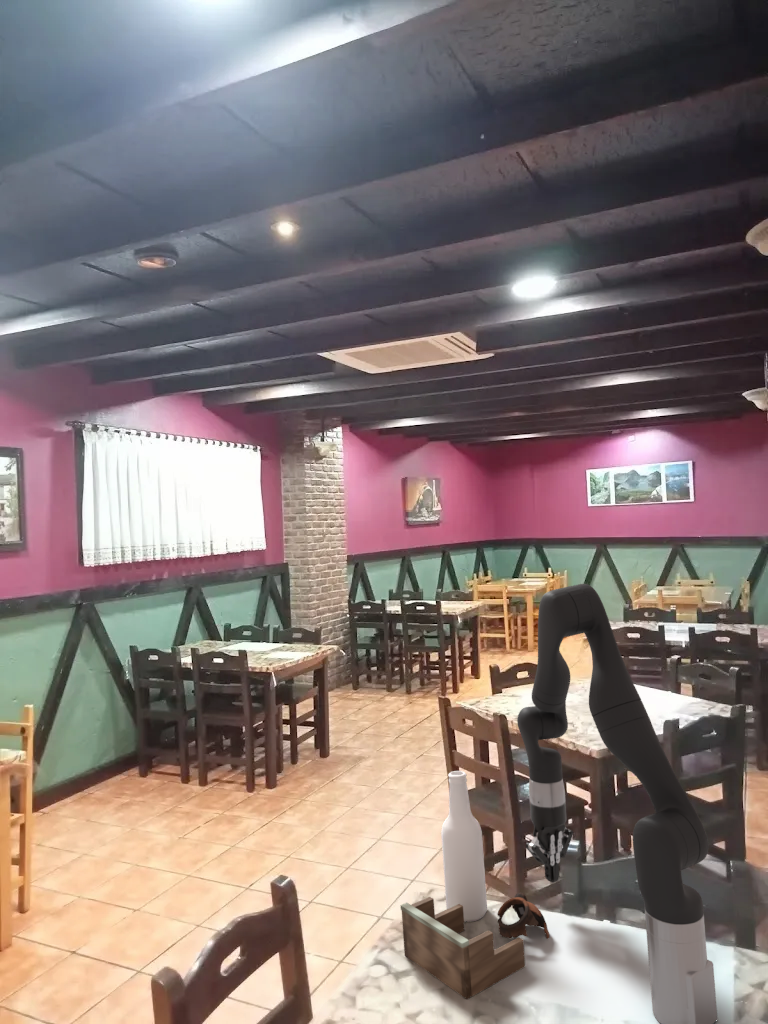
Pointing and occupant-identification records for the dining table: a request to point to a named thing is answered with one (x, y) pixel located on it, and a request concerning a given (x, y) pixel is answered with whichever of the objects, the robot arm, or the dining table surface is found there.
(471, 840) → the alcohol
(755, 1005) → the dining table surface
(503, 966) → the brown stepped open box
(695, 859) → the robot arm
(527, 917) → the pottery mug
